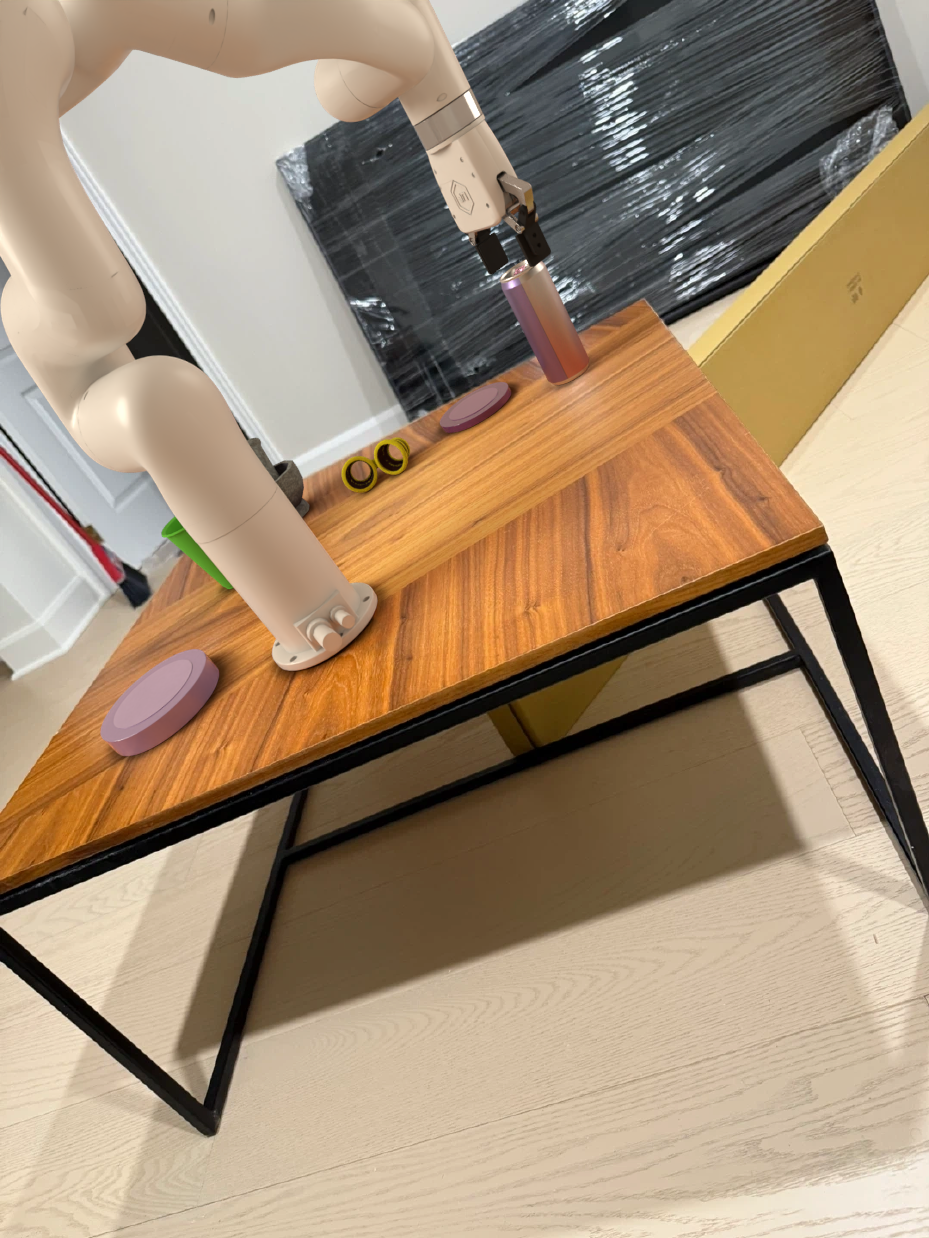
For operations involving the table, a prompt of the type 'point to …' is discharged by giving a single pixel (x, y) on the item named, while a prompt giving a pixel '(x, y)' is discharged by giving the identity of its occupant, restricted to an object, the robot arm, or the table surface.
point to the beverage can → (545, 322)
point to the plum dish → (475, 407)
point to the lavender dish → (160, 702)
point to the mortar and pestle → (283, 477)
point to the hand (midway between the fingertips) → (519, 264)
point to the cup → (192, 550)
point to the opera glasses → (377, 464)
